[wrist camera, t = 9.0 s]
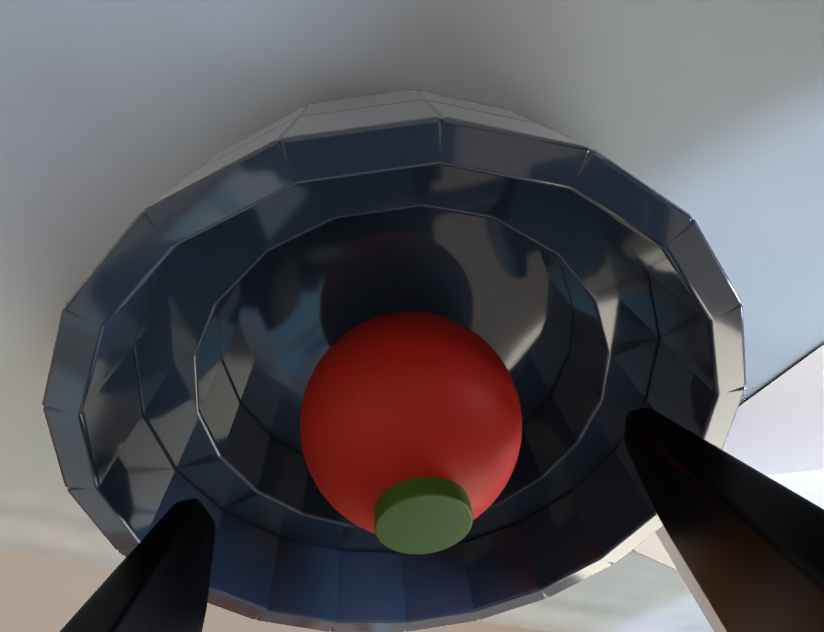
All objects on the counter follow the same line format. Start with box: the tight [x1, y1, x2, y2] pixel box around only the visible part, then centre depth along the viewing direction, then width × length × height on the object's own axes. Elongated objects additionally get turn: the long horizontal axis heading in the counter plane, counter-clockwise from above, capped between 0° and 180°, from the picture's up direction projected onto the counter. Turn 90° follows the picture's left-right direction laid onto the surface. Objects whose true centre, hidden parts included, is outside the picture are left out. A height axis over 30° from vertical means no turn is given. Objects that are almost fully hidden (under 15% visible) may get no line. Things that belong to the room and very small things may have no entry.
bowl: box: [42, 90, 746, 632], centre depth 11 cm, size 13×13×4 cm
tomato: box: [300, 311, 522, 554], centre depth 10 cm, size 5×5×5 cm
